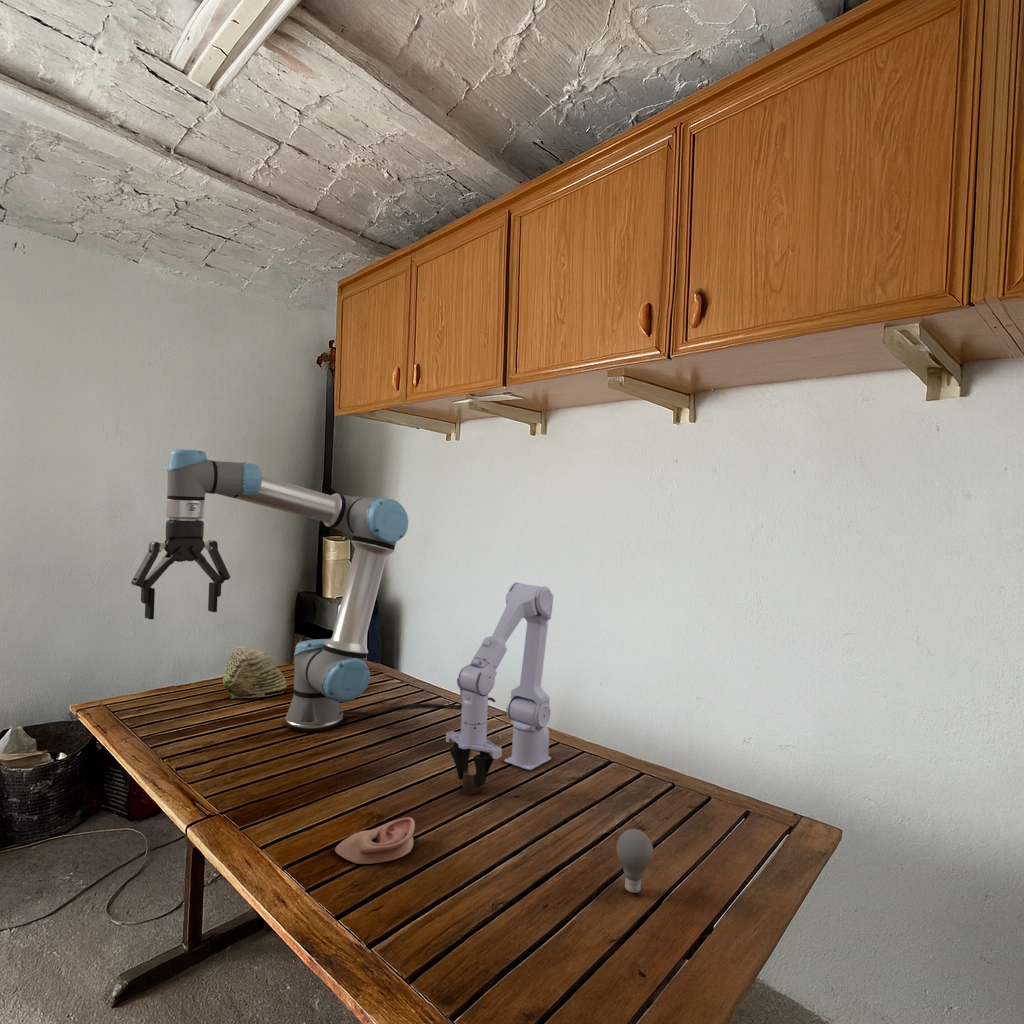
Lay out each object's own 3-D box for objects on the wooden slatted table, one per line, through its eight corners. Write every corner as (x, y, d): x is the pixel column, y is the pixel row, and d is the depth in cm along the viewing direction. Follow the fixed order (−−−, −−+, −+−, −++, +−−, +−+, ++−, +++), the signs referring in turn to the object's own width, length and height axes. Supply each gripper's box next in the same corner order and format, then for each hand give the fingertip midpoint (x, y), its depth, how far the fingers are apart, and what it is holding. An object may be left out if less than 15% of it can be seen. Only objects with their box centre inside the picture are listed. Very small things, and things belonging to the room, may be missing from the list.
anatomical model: (327, 836, 111) (356, 806, 122) (326, 858, 111) (355, 826, 122) (398, 848, 108) (421, 815, 119) (397, 871, 108) (420, 836, 119)
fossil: (218, 695, 195) (220, 647, 195) (278, 685, 208) (279, 640, 207) (228, 703, 189) (230, 653, 188) (289, 692, 201) (290, 645, 201)
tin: (466, 785, 142) (467, 765, 142) (482, 789, 141) (483, 769, 141) (459, 792, 138) (460, 772, 138) (475, 796, 137) (476, 776, 137)
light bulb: (610, 879, 108) (613, 822, 108) (644, 879, 109) (647, 822, 109) (619, 902, 102) (622, 840, 102) (655, 901, 103) (658, 840, 103)
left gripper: (130, 520, 128) (127, 624, 129) (247, 520, 148) (244, 611, 148) (116, 518, 133) (112, 618, 133) (231, 518, 152) (228, 606, 153)
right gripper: (437, 717, 140) (435, 777, 141) (488, 733, 132) (485, 798, 132) (458, 709, 146) (456, 767, 146) (508, 725, 137) (506, 787, 138)
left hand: (182, 614), depth 141 cm, fingers open, 13 cm apart
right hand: (471, 781), depth 140 cm, fingers open, 5 cm apart
